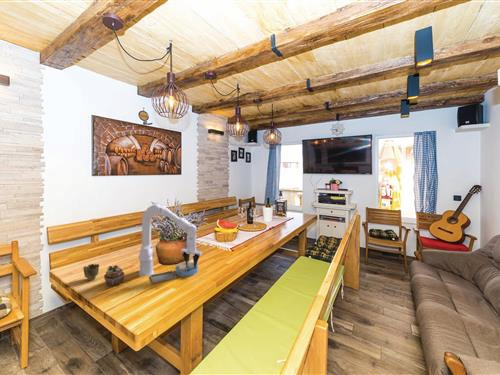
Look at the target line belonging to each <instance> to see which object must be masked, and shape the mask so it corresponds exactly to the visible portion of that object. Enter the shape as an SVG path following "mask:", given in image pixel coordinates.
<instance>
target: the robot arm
mask: <svg viewBox="0 0 500 375" xmlns="http://www.w3.org/2000/svg"><path fill="white" fill-rule="evenodd" d="M157 215H159V216H166V217H167V218H169V219H170V220H171V221H174V222H175V224H176V226H177V227H179V228H180V229H182V231H184V232H186V236H187V237H186V248H181V249H180V252H181V253H182V255H181V256H182V257H183V259H184V262H185V263H186V265H187V261H189V260H190V255H192V260H194V266H196V265H198V264H197V263H198V260H199V259H200V257H201V256H202V255H203V252H202V251H199V250H197V230H198V229H197V226H196V225H195V224H194V223H192V222H190V221H188V220H187V218H185V217H179V216H178V215H177V214H175V213H174V212H173V211H171V210H170V209H169V208H167V206H165V205H162V203H161V202H155V203H154V204H152V205H151V206H149V207H147V208H146V210H145V212H143V214H142V216H141V248H140V250H139V251H140V252H139V255H138V259H139V270H138V273H139V278H142V277H147V276H150V275H154V274H155V271H154V265H153V264H154V263H153V261H154V257H153V254H154V250H155V249H154V248H153V244H152V218H153V217H155V216H157Z"/></svg>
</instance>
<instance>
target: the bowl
mask: <svg viewBox="0 0 500 375" xmlns="http://www.w3.org/2000/svg"><path fill="white" fill-rule="evenodd" d="M174 270H175V271H174V274H175V276H177V277H182V278H185V277H186V278H187V277H188V278H189V277H192V276H195V275H196V274H197V273H198V272H199V265H198V264H197V265H196V266H195V269H193V270H191V271H188V269H187V265H186V271H180V270H179V264H177V265H176V266H175V269H174Z"/></svg>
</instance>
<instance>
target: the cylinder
mask: <svg viewBox="0 0 500 375" xmlns="http://www.w3.org/2000/svg"><path fill="white" fill-rule="evenodd" d="M187 269H188V271H191V270H193V269H195V266H194V260H193V259H191V260H190V259H189V261H187Z"/></svg>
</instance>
